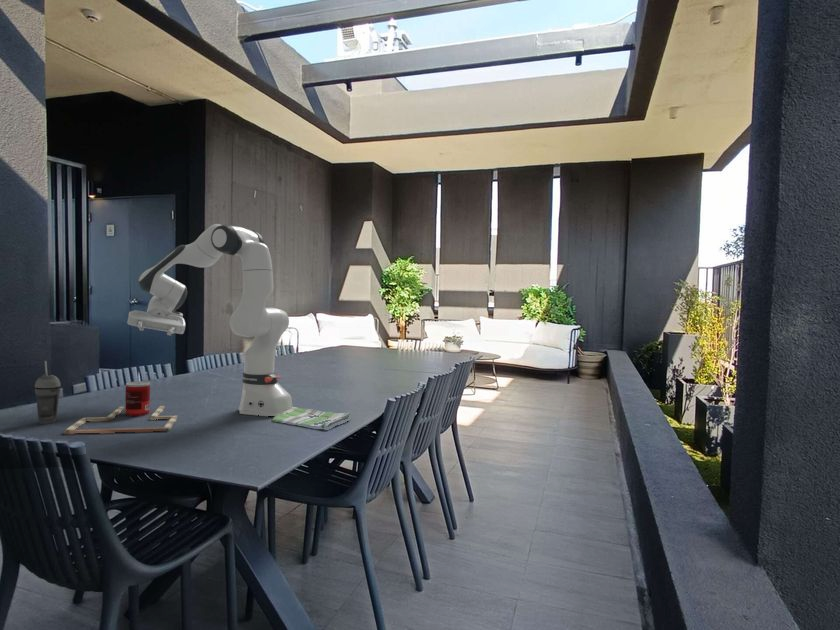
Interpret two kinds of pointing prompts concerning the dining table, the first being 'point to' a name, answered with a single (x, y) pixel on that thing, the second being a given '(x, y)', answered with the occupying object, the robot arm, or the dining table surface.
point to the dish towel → (303, 418)
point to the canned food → (137, 398)
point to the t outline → (153, 417)
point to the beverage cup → (47, 397)
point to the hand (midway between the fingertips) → (155, 331)
